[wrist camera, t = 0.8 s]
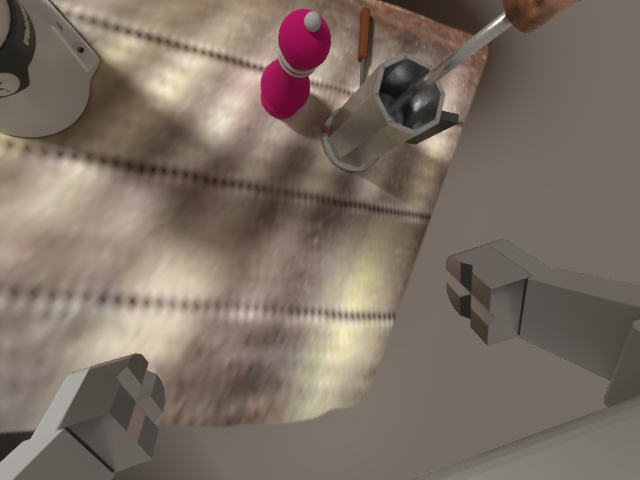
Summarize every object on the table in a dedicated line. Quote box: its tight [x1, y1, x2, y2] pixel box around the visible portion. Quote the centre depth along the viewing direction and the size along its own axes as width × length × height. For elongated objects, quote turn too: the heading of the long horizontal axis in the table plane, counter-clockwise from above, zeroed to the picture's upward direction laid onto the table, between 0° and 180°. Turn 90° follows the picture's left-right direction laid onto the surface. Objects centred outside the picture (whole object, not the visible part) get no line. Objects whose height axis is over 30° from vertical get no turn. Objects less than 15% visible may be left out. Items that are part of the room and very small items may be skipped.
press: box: [321, 52, 459, 172], centre depth 47 cm, size 11×14×18 cm
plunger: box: [378, 0, 580, 125], centre depth 33 cm, size 6×6×26 cm
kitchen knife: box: [358, 7, 370, 86], centre depth 56 cm, size 16×1×2 cm, turn 176°
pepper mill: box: [261, 9, 331, 118], centre depth 42 cm, size 7×7×20 cm
